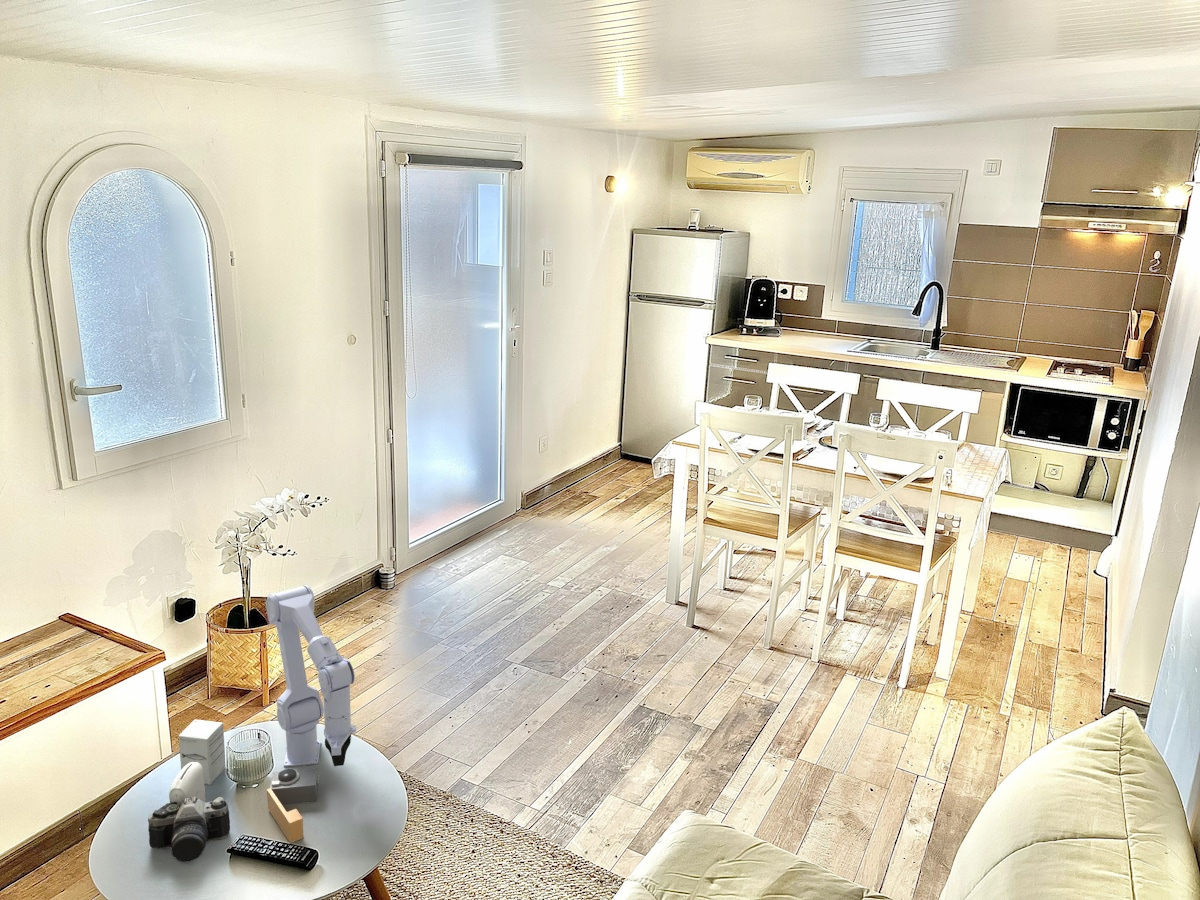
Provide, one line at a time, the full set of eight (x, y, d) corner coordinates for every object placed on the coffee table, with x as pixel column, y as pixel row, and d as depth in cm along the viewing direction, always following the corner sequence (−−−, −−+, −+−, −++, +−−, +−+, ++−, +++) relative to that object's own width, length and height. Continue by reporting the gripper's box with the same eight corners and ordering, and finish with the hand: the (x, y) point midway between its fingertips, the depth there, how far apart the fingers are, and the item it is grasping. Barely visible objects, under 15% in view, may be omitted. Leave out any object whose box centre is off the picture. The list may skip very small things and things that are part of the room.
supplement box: (180, 782, 207) (176, 735, 204) (198, 763, 214) (194, 717, 211) (210, 786, 207) (206, 739, 203) (227, 767, 214) (223, 721, 210)
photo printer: (189, 835, 191) (185, 785, 187) (169, 834, 190) (165, 785, 187) (208, 804, 200) (205, 756, 197) (189, 803, 200) (185, 756, 197)
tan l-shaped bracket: (280, 803, 201) (279, 784, 200) (303, 837, 191) (302, 818, 190) (267, 808, 199) (266, 789, 198) (290, 842, 189) (289, 823, 188)
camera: (144, 873, 180) (140, 832, 177) (152, 839, 189) (148, 799, 186) (228, 858, 185) (225, 818, 182) (231, 826, 194) (228, 787, 191)
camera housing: (273, 788, 207) (272, 768, 205) (318, 784, 209) (317, 764, 207) (270, 806, 201) (269, 785, 199) (316, 801, 203) (315, 781, 202)
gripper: (354, 728, 192) (355, 782, 196) (356, 693, 206) (358, 743, 210) (320, 731, 191) (322, 785, 195) (325, 695, 204) (327, 746, 208)
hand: (339, 764), depth 202 cm, fingers closed
